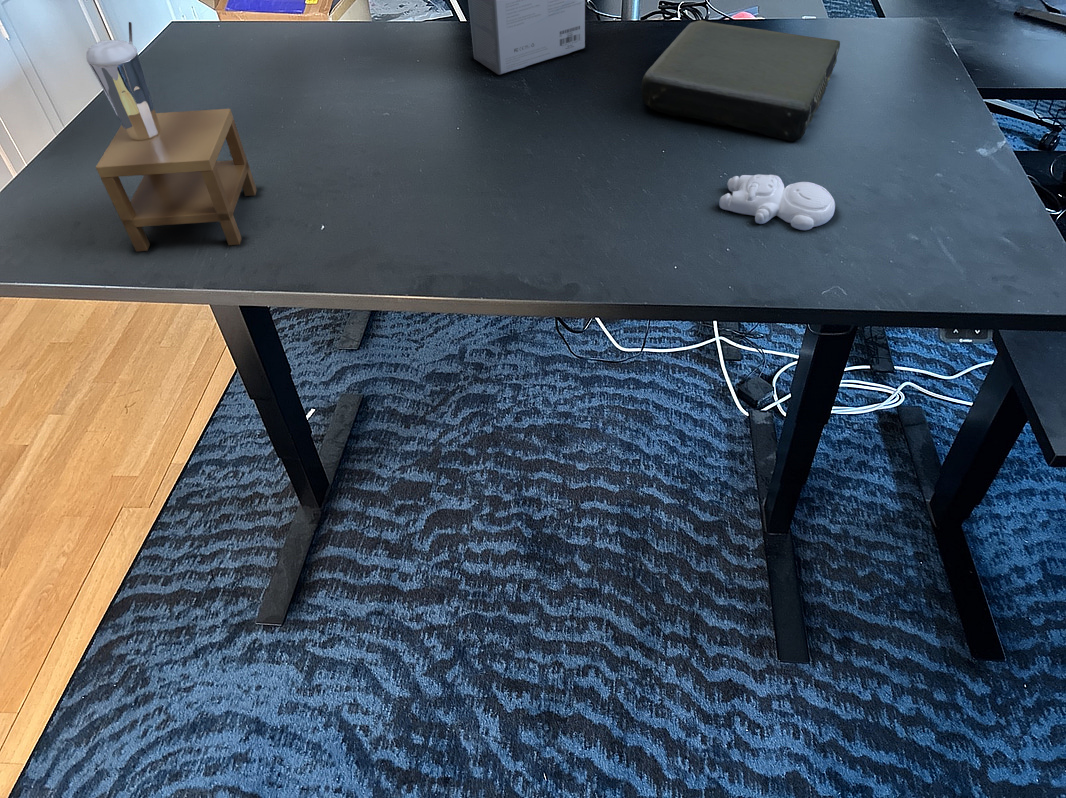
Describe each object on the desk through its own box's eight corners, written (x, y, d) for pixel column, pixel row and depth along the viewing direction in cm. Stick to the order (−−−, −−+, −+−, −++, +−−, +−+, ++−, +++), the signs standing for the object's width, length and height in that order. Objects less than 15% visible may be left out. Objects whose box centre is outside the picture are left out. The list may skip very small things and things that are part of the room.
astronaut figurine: (734, 176, 89) (738, 152, 87) (840, 198, 86) (847, 174, 83) (711, 214, 84) (715, 190, 82) (823, 240, 80) (830, 215, 78)
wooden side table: (136, 251, 82) (94, 167, 75) (162, 196, 90) (127, 114, 83) (239, 244, 83) (208, 159, 76) (257, 190, 90) (230, 108, 83)
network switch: (822, 147, 93) (832, 108, 90) (632, 123, 99) (635, 84, 95) (834, 67, 108) (843, 30, 105) (669, 50, 114) (672, 14, 110)
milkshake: (182, 125, 81) (145, 26, 73) (140, 148, 78) (96, 46, 70) (155, 115, 82) (115, 17, 75) (112, 136, 79) (66, 37, 72)
